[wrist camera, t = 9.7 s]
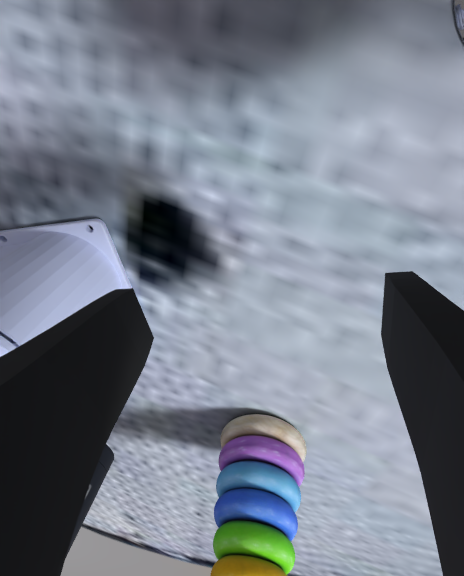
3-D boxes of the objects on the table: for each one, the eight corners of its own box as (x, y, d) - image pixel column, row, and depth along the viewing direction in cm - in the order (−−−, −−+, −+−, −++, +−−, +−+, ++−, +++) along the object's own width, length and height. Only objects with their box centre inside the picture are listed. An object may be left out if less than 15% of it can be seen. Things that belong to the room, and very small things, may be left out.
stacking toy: (217, 445, 34) (142, 758, 18) (231, 399, 29) (147, 770, 14) (291, 467, 33) (278, 804, 18) (318, 424, 29) (330, 832, 13)
